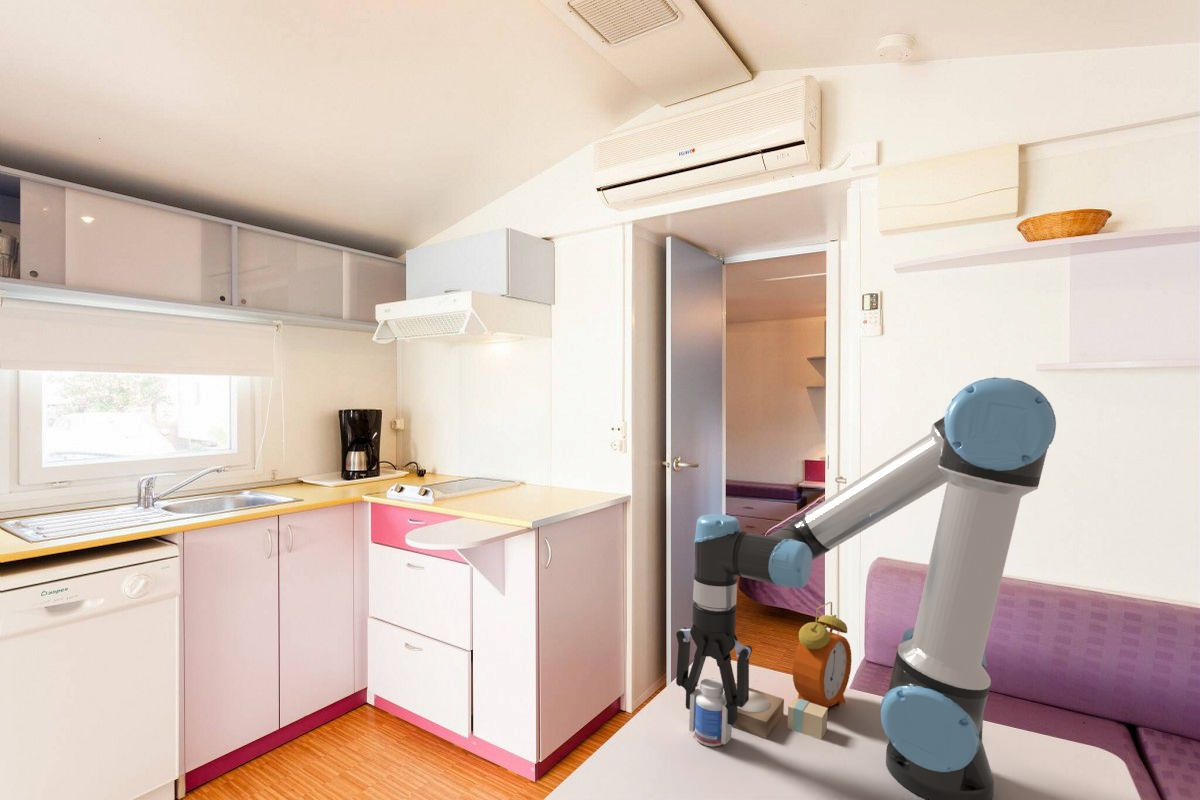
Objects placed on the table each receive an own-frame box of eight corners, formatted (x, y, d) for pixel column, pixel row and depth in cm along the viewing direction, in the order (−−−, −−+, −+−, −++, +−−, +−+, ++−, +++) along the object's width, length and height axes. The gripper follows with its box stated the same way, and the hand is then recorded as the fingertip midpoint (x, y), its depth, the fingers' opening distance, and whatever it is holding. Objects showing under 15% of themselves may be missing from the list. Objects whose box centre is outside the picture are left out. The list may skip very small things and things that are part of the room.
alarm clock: (820, 724, 110) (824, 618, 110) (790, 710, 114) (794, 608, 114) (851, 700, 119) (855, 602, 119) (822, 688, 124) (825, 593, 123)
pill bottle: (725, 749, 101) (727, 693, 101) (693, 745, 102) (695, 689, 102) (725, 732, 107) (727, 678, 106) (695, 727, 108) (697, 674, 108)
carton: (826, 729, 109) (827, 707, 109) (821, 740, 105) (821, 717, 105) (794, 718, 112) (794, 696, 112) (787, 728, 109) (788, 706, 109)
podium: (783, 714, 113) (784, 698, 113) (765, 738, 105) (766, 721, 105) (733, 697, 119) (734, 682, 119) (713, 719, 111) (713, 703, 111)
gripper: (773, 609, 102) (768, 743, 102) (677, 586, 112) (673, 707, 113) (757, 623, 96) (752, 764, 96) (658, 597, 106) (654, 725, 107)
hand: (710, 733), depth 105 cm, fingers closed on pill bottle, 5 cm apart
